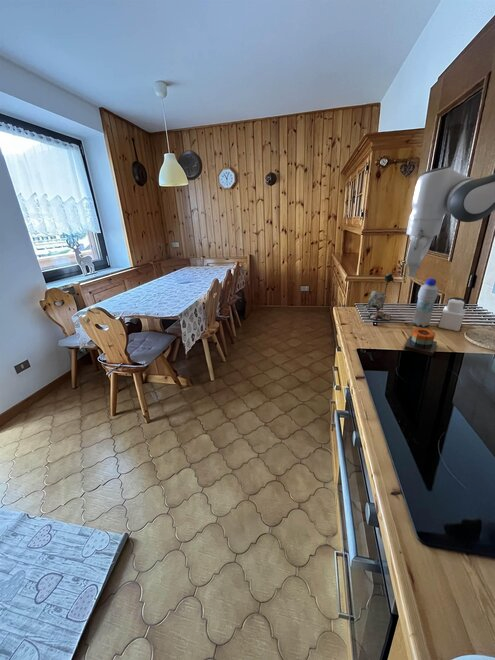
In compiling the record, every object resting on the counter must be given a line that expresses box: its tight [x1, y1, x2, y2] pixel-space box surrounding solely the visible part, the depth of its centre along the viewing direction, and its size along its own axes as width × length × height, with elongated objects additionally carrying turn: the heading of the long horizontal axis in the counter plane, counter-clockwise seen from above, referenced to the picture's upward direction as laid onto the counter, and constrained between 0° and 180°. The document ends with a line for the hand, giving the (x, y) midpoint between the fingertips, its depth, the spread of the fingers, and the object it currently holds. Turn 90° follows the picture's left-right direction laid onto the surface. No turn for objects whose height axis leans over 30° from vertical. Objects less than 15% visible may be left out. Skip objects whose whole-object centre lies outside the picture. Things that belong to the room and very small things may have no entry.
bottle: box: [412, 278, 439, 328], centre depth 115 cm, size 7×7×20 cm
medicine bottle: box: [438, 296, 467, 332], centre depth 114 cm, size 7×7×12 cm
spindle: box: [403, 332, 438, 357], centre depth 102 cm, size 9×9×6 cm
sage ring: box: [411, 335, 435, 345], centre depth 102 cm, size 7×7×2 cm
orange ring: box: [411, 327, 436, 341], centre depth 101 cm, size 7×7×2 cm
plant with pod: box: [363, 272, 395, 321], centre depth 124 cm, size 8×11×20 cm
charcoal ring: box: [410, 339, 433, 349], centre depth 103 cm, size 7×7×2 cm
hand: (414, 272), depth 93 cm, fingers open, 8 cm apart
